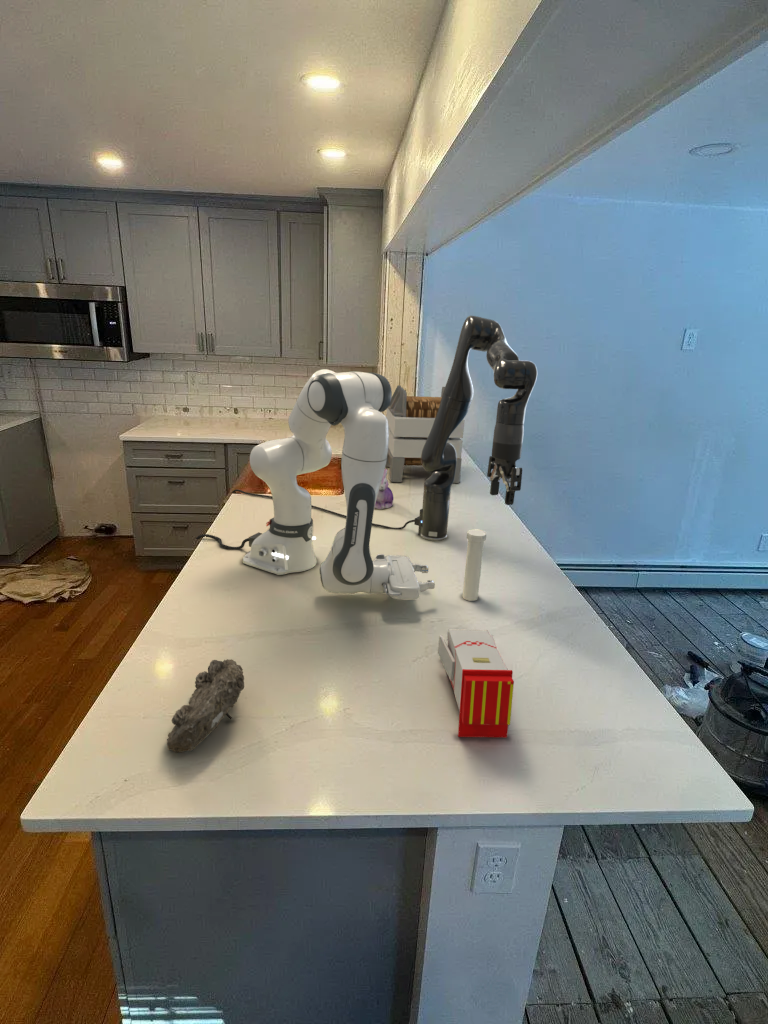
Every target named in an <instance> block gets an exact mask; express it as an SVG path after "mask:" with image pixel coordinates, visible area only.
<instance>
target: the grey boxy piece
mask: <svg viewBox="0 0 768 1024" xmlns="http://www.w3.org/2000/svg"><path fill="white" fill-rule="evenodd" d="M444 389H445V386H442V387H441V392H440V393H441V394H440V396H415V395H414V396H413V395H412V396H411V395H407V394H408V393H407V390H406V389H404V388H403V387H402V385H399V384H398V385H397V386H396V388H395V390H394V392H393V393H392V398H391V402H390V405H389V406H388V408H387V409H386V413H385V414H386V415H385V416H386V418H387V420H388V424H389V445H388V454H387V461H386V466H385V467H388V468H389V475H388V476H389V477H388V478H389V480H390V482H391V483H402V482H403V475H404V469H405V466H406V467H407V466H411V467H412V466H413V467H415V466H416V467H417V466H418V467H422V464H421V453H422V450H423V447H424V445H425V443H426V440H427V438H428V436H429V434H430V431H431V429H432V426H433V423H434V420H435V417H436V415H437V412H438V409H439V405H440V402H441V398H442V395H443V392H444ZM464 429H465V418H464V419H463V420H462V421H461V423H460V424H459V425H458V426H457V427H456V429H455V430H454V431H453V432H452V433H451V435H450V436H449V438H448V440H447V443H450V444H452V445H453V446H454V448H455V450H456V455H457V462H456V470H455V477H454V482H453V484H455V483H456V484H459V483H461V472H462V461H463V460H462V453H463V442H464V441H463V440H462V439H463V438H464V431H465V430H464Z"/></svg>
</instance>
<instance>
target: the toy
mask: <svg viewBox="0 0 768 1024" xmlns="http://www.w3.org/2000/svg"><path fill="white" fill-rule="evenodd" d="M446 640H447V643H446V641H445V639H444V636H443V635H442V634H439V637H438V646H437V656H438V657H439V659H440V661H441V663H442V666H443V668H444V670H445V672H446V674H447V677H448V679H449V681H450V684H451V687H452V690H453V693H454V697H455V701H456V705H457V708H458V711H459V714H458V715H459V716H458V730H457V731H458V732H457V737H458V738H508V731H509V726H510V725H511V717H512V707H513V697H514V696H513V695H514V684H515V680H514V679H513V673H514V671H513V670H512V669H508V667H507V665H506V662H505V661H504V659H503V658H502V655H501V653H500V651H499V649H498V647H497V643H496V639H495V637H494V635H493V634H491V632H490V631H489V629H467V628H466V629H465V628H463V629H461V628H460V629H459V628H448V630H447V639H446Z"/></svg>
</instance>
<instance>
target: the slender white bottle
mask: <svg viewBox="0 0 768 1024" xmlns="http://www.w3.org/2000/svg"><path fill="white" fill-rule="evenodd" d="M484 545H485V541H484V542H472V541H469V540H468V539H467V548H466V557H465V566H464V577H463V586H462V596H461V597H462V598H463V600H466V601H469V602H474V601H477V600H478V599H479V590H480V581H481V573H482V563H483V555H484Z"/></svg>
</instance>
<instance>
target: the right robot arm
mask: <svg viewBox="0 0 768 1024" xmlns="http://www.w3.org/2000/svg"><path fill="white" fill-rule="evenodd" d="M471 350H473V351H478V352H483V353H486V357H485V358H486V362H487V363H488V365H489V367H490V368H491V369H492V371H493V383H494V385H495V386H496V387H497V388H499V389H502V390H516V392H515V394H513V396H512V395H511V396H509V397H505V398H501V399H500V400H499V401H498V403H497V408H496V417H495V418H496V419H495V424H494V429H493V435H492V436H493V438H492V448H491V455H490V456H489V458H488V465H487V472H486V476H487V478H489V481H490V490H489V494H490V495H491V496H498V495H499V491H500V480H501V479H502V483H503V484H504V486H505V489H506V490H505V497H504V504H505V505H506V506H512V505H514V503H515V502H514V501H515V493H516V492H518V491H519V492H521V489H522V480H523V468H522V467H517V464H516V462H517V461H519V460H520V459H521V458H522V452H523V451H522V450H523V442H524V433H525V426H524V425H525V417H526V409H527V406H528V402H529V399H530V398H531V394H532V392H533V390H534V387H535V385H536V382H537V378H538V368H537V365H536V363H534V362H533V361H531V360H522V359H521V360H520V358H519V355H518V354H517V353H516V352H515V351H514V350H513V349H512V347H511V346H510V345H509V344H508V340H507V338H506V336H505V333H504V330H503V327H502V326H501V324H500V323H499V322H498V321H497V320H495V319H490V318H485V317H482V316H476V315H469V316H467V317H466V319H465V320H464V322H463V323H462V327H461V329H460V333H459V337H458V341H457V345H456V349H455V353H454V358H453V362H452V364H451V368H450V371H449V375H448V378H447V380H446V384H445V385H444V387H445V389H444V392H443V395H442V398H441V402H440V405H439V409H438V412H437V415H436V417H435V420H434V423H433V426H432V429H431V431H430V434H429V436H428V438H427V440H426V443H425V445H424V447H423V450H422V453H421V464H422V466H421V467H422V468H423V470H424V471H426V472H428V473H431V475H430V476H429V477H427V478H426V479H425V480H424V482H423V493H422V496H423V497H422V506H421V508H420V509H419V516H416V517H415V518H414V519H411V520H407V521H406V522H405V523H404V524H403V526H400V527H391V526H387V525H383V524H378V523H373V522H372V526H374V527H377V528H384V529H387V530H388V529H389V530H404V529H405V528H406V527H407V526H408V524H410V523H414V524H413V525H415V526H418V530H417V535H418V536H420V538H421V539H424V540H426V541H432V542H440V541H444V540H446V539H447V538H448V525H449V517H450V516H449V514H450V504H451V494H452V493H451V491H452V486H453V484H454V483H453V482H454V477H455V470H456V462H457V455H456V450H455V448H454V446H453V445H452V444H450V443H447V440H448V438H449V436H450V435H451V433H452V432H453V431H454V430H455V429H456V427H457V426H458V425H459V424H460V423H461V421H462V420H463V419H464V420H465V417H466V416H467V415H468V412H469V410H470V407H471V404H472V401H473V399H474V392H475V391H474V386H473V381H472V378H471V375H470V371H469V364H468V362H469V354H470V351H471ZM235 492H239V493H242V494H244V495H249V496H255V497H256V496H257V497H262V498H269V499H273V497H272V495H266V494H258V493H253V492H246V491H244V490H241V489H234V490H232V491H231V493H232V494H233V493H235ZM311 508H312V509H316V510H320V511H323V512H327V513H330V514H333V515H336V516H339V517H342V518H345V519H346V517H347V514H346V515H345V514H342V513H339V512H335V511H332V510H329V509H326V508H323V507H319V506H316V505H313V504H311Z"/></svg>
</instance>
